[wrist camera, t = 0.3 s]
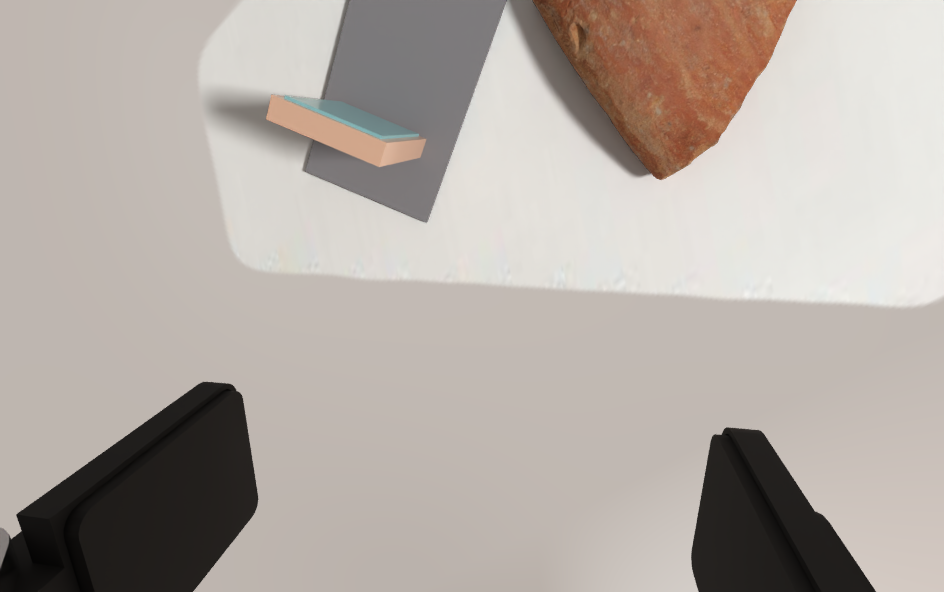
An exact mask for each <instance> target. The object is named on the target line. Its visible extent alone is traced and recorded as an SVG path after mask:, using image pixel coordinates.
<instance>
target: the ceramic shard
mask: <svg viewBox="0 0 944 592" xmlns="http://www.w3.org/2000/svg"><path fill="white" fill-rule="evenodd" d="M796 1H797V0H533V2H534V4H535V5H536V7H537V8H538V10H539V12H540V13H541V15H542V17H543V19H544V21H545V22H546V24H547V26H548V27H549V29H550V31H551V33H552V34H553V36H554V38H555V39H556V41H557V42H558V44H559V45H560V47H561V49H562V50H563V52H564V53H565V55H566V56H567V58H568V60H569V61H570V63H571V64H572V66H573V67H574V69H575V70H576V71H577V73H578V74H579V76H580V77H581V79H582V80H583V82H584V83H585V85H586V86H587V88H588V89H589V91H590V92H591V94H592V95H593V96H594V98H595V99H596V100H597V102H598V103H599V104H600V106H601V107H602V108H603V109H604V111H605V112H606V113H607V114H608V116H609V118H610V119H611V121H612V123H613V124H614V126H615V127H616V129H617V130H618V132H619V133H620V134H621V136H622V137H623V139H624V140H625V142H626V143H627V144H628V146H629V147H630V148H631V150H632V151H633V152H634V153H635V154H636V156H637V157H638V158H639V159H640V160H641V162H642V163H643V164H644V166H645V167H646V168H647V169H648V170H649V171H650V172H651V173H652V175H653V176H654V177H655V178H657V179H660V180H662V179H665V178H667V177H668V176H671V175H673V174H674V173H676V172H677V171H679V170H681V169H683V168H685V167H686V166H688V165H689V164H691V162H692V161H693V160H694V159H695V158H696V157H698V156H699V155H701V154H702V153H703V152H705V151H706V150H707V149H709V148H710V147H712V146H714V145H715V144H717V143H718V140H719V138H720V136H721V134H722V133H723V132H724V131H725V130H726V128H727V126H728V124H729V123H730V121H731V120H732V118H733V117H734V116H735V114H736V113H737V112H738V110H739V109H740V108H741V105H742V103H743V101H744V99H745V97H746V95H747V93H748V92H749V90H750V89H751V87H752V86H753V84H754V82H755V81H756V79H757V77H758V76H759V75H760V74H761V73H762V72H763V70H764V69H765V68H766V66H767V64H768V62H769V60H770V58H771V57H772V54H773V52H774V49H775V47H776V44H777V42H778V40H779V38H780V36H781V33H782V31H783V29H784V26H785V23H786V21H787V18H788V16H789V14H790V12H791V10H792V8H793V7H794V5H795V3H796Z"/></svg>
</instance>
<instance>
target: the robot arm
mask: <svg viewBox="0 0 944 592" xmlns="http://www.w3.org/2000/svg"><path fill="white" fill-rule="evenodd" d="M257 504H258V493H257V487H256V480H255V474H254V467H253V461H252V455H251V448H250V442H249V435H248V429H247V422H246V416H245V410H244V403H243V398H242V395H241V394H240V393H239V392H237V391H236V389H235V387H234V386H233V385H231V384H226V383H214V382H202V383H200V384H198V385H197V386H196V387H194V388H193V389H191V390H190V391H188V392H187V393H186V394H184V395H183V396H182V397H180V398H179V399H177V400H176V401H175V402H173V403H172V404H170V405H169V406H167V407H166V408H165V409H163V410H162V411H160V412H159V413H158V414H156V415H155V416H154V417H152V418H151V419H149V420H148V421H147V422H145V423H144V424H142V425H141V426H139V427H138V428H137V429H135V430H134V431H132V432H131V433H130V434H128V435H127V436H125V437H124V438H123V439H121V440H120V441H118V442H117V443H116V444H114V445H113V446H112V447H110V448H109V449H107V450H106V451H105V452H103V453H102V454H100V455H99V456H97V457H96V458H95V459H93V460H92V461H90V462H89V463H88V464H86V465H85V466H84V467H82V468H81V469H79V470H78V471H76V472H75V473H74V474H72V475H71V476H69V477H68V478H67V479H66V480H64V481H62V482H61V483H60V484H58V485H57V486H55V487H54V488H53V489H51V490H50V491H48V492H47V493H46V494H44V495H43V496H42V497H40V498H39V499H37V500H36V501H34V502H33V503H32V504H30V505H29V506H28V507H26V508H25V509H24V510H22V511H20V512H19V513H18V514H17V518H18V521H19V524H20V527H21V530H22V531H21V532H20V533H19V534H17V535H16V536H15V537H13V538H12V539H11V538H10V536H9V534H8V533H7V532H6V531H5V530H4V529H3V528H0V592H193V591H194V590H195V589H196V587H197V586H198V585H199V584H200V582H201V581H202V580H203V578H204V577H205V576H206V575H207V573H208V572H209V571H210V570H211V568H212V567H213V566H214V565H215V563H216V562H217V561H218V559H219V558H220V557H221V556H222V554H223V553H224V552H225V550H226V549H227V548H228V547H229V545H230V544H231V543H232V542H233V540H234V539H235V538H236V537H237V535H238V534H239V533H240V532H241V530H242V529H243V528H244V526H245V525H246V524H247V523H248V521H249V520H250V519H251V518H252V516H253V515H254V513H255V510H256V508H257ZM691 560H692V570H693V574H694V577H695V580H696V584H697V588H698V591H699V592H876V591H875V589H874V588H873V587H872V585H871V584H870V582H869V581H868V579H867V578H866V576H865V575H864V573H863V572H862V570H861V569H860V567H859V566H858V564H857V563H856V561H855V560H854V558H853V557H852V556H851V554H850V552H849V551H848V550H847V548H846V547H845V545H844V544H843V542H842V541H841V539H840V538H839V536H838V535H837V533H836V532H835V530H834V529H833V527H832V526H831V524H830V523H829V522H828V521H827V519H826V518H825V517H824V516H823V515H821V514H819V513H817V512H815V511H814V509H813V508H812V506H811V505H810V503H809V502H808V500H807V499H806V497H805V496H804V494H803V493H802V491H801V490H800V488H799V487H798V485H797V484H796V482H795V481H794V479H793V478H792V476H791V475H790V473H789V471H788V470H787V468H786V467H785V465H784V464H783V463H782V461H781V459H780V458H779V456H778V455H777V453H776V452H775V450H774V449H773V447H772V446H771V444H770V443H769V441H768V440H767V438H766V437H765V435H764V434H763V433H762V432H761V431H759V430H749V429H739V428H725V429H724V431H723V433H722V435H716V434H715V435H713V437H712V439H711V443H710V450H709V455H708V460H707V466H706V472H705V478H704V483H703V489H702V495H701V501H700V507H699V512H698V518H697V524H696V529H695V535H694V541H693V547H692V555H691Z"/></svg>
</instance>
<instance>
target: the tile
mask: <svg viewBox="0 0 944 592" xmlns="http://www.w3.org/2000/svg"><path fill="white" fill-rule="evenodd" d="M266 120H269V121H271V122H273V123H276V124H278V125H281V126H283V127H285V128H288V129H290V130H292V131H295V132H297V133H300V134H302V135H304V136H307V137H309V138H311V139H314V140H316V141H319V142H321V143H323V144H326V145H328V146H330V147H333V148H335V149H337V150H340V151H342V152H345V153H347V154H349V155H352V156H354V157H356V158H359V159H361V160H364V161H366V162H368V163H371V164H373V165H375V166H378V167H382V166H386V165H391V164H395V163H399V162H404V161H408V160H412V159H417V158H420V157H421V154H422V151H423V148H424V145H425V142H426V138H423V137H421V136H419V134H418V133H416V132H413V131H411V130H409V129H406V128H404V127H401V126H399V125H397V124H394V123H392V122H389V121H387V120H385V119H382V118H380V117H378V116H375V115H373V114H370V113H368V112H366V111H363V110H361V109H358V108H356V107H354V106H351V105H349V104H346V103H344V102H342V101H333V100H324V99H315V98H306V97H296V96H287V95H285V96H280V95H271V99H270V104H269V108H268V113H267V117H266Z"/></svg>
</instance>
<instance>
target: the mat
mask: <svg viewBox="0 0 944 592" xmlns="http://www.w3.org/2000/svg"><path fill="white" fill-rule="evenodd" d="M506 1H507V0H349V4H348V8H347V12H346V16H345V20H344V24H343V28H342V31H341V35H340V39H339V43H338V47H337V51H336V55H335V59H334V62H333V66H332V70H331V74H330V78H329V82H328V86H327V90H326V93H325V97H324V100H333V101H342V102H344V103H346V104H349V105H351V106H354V107H356V108H358V109H361V110H363V111H366V112H368V113H370V114H373V115H375V116H378V117H380V118H382V119H385V120H387V121H389V122H392V123H394V124H397V125H399V126H401V127H404V128H406V129H409V130H411V131H413V132H416V133H418V134H419V136H421V137H423V138H426V142H425V145H424V148H423V151H422V154H421V157H420V158H417V159H412V160H408V161H404V162H399V163H395V164H391V165H386V166H382V167H378V166H375V165H373V164H371V163H368V162H366V161H364V160H361V159H359V158H356V157H354V156H352V155H349V154H347V153H345V152H342V151H340V150H337V149H335V148H333V147H330V146H328V145H326V144H323V143H321V142H319V141H316V140H313V144H312V148H311V152H310V155H309V159H308V163H307V167H306V171H305V172H308V173H310V174H312V175H315V176H317V177H319V178H322V179H324V180H326V181H329V182H331V183H334V184H336V185H338V186H341V187H343V188H345V189H348V190H350V191H352V192H355V193H357V194H360V195H362V196H364V197H367V198H369V199H371V200H374V201H376V202H378V203H381V204H383V205H385V206H388V207H390V208H393V209H395V210H397V211H400V212H402V213H404V214H407V215H409V216H411V217H414V218H416V219H419V220H421V221H423V222H428V219H429V216H430V213H431V210H432V208H433V205H434V202H435V199H436V196H437V194H438V191H439V188H440V185H441V182H442V180H443V177H444V174H445V171H446V169H447V166H448V163H449V160H450V157H451V155H452V152H453V149H454V146H455V143H456V141H457V138H458V135H459V132H460V129H461V127H462V124H463V121H464V118H465V115H466V113H467V110H468V107H469V104H470V102H471V99H472V96H473V93H474V90H475V88H476V85H477V82H478V79H479V76H480V74H481V71H482V68H483V65H484V62H485V60H486V57H487V54H488V51H489V49H490V46H491V43H492V40H493V37H494V35H495V32H496V29H497V26H498V23H499V21H500V18H501V15H502V12H503V9H504V7H505V4H506Z"/></svg>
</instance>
